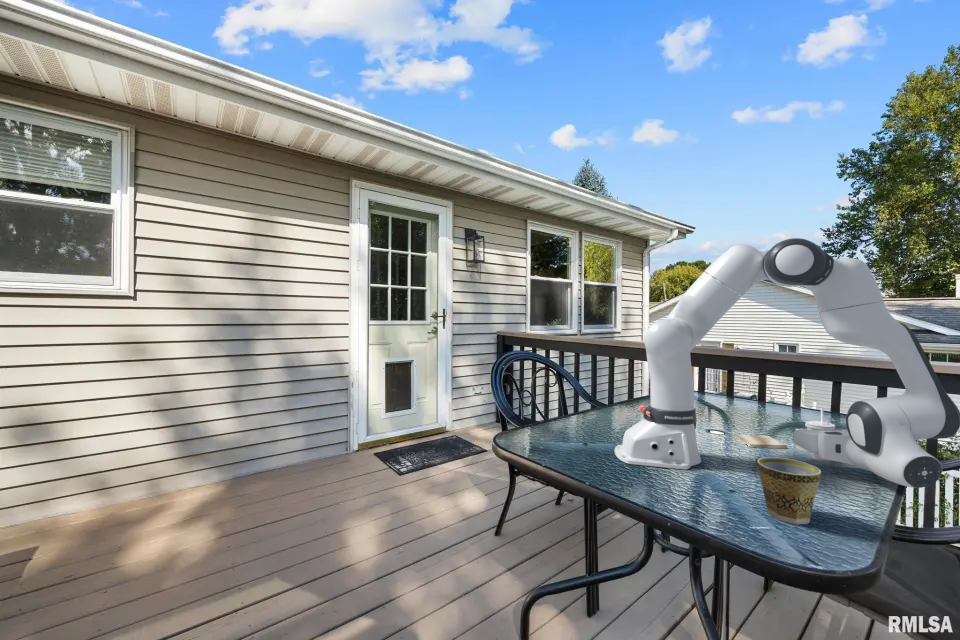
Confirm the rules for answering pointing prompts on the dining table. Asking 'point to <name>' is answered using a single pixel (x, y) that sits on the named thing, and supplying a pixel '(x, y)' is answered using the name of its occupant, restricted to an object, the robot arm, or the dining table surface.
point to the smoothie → (819, 426)
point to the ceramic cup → (788, 488)
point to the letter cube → (799, 446)
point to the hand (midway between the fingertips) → (821, 432)
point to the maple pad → (760, 441)
